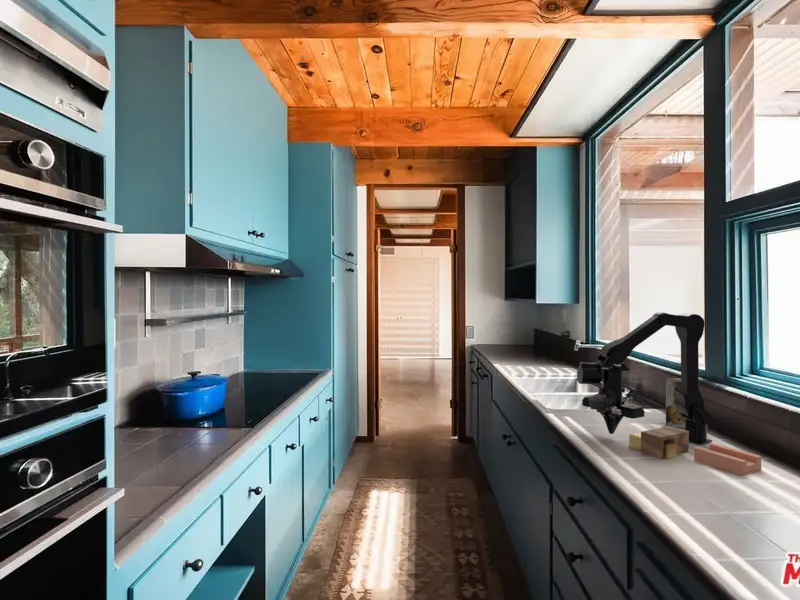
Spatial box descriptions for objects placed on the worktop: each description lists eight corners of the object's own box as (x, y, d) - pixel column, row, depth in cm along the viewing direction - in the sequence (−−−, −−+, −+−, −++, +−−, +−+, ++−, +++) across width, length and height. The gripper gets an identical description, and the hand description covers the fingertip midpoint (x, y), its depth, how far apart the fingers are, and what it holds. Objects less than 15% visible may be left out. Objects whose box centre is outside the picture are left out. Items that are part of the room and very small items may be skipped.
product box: (696, 425, 165) (697, 379, 165) (695, 430, 160) (696, 382, 159) (666, 421, 170) (667, 376, 170) (664, 426, 165) (665, 379, 164)
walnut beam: (668, 445, 144) (668, 425, 143) (688, 451, 138) (688, 431, 138) (640, 452, 137) (641, 431, 137) (660, 458, 132) (661, 437, 132)
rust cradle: (712, 455, 135) (713, 443, 135) (761, 469, 125) (761, 456, 125) (694, 460, 131) (694, 447, 131) (742, 475, 120) (742, 461, 120)
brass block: (629, 447, 143) (629, 434, 142) (637, 445, 144) (638, 432, 144) (667, 460, 132) (668, 445, 132) (676, 457, 134) (676, 443, 134)
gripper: (570, 381, 154) (570, 429, 154) (621, 392, 138) (620, 446, 138) (594, 378, 160) (593, 424, 160) (646, 389, 143) (645, 440, 143)
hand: (611, 433), depth 150 cm, fingers closed
